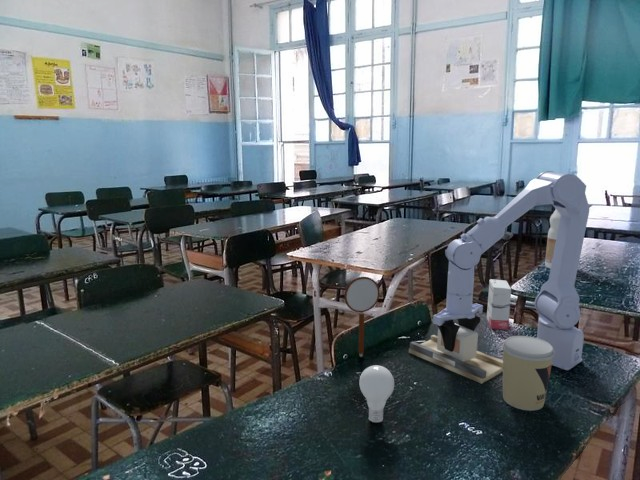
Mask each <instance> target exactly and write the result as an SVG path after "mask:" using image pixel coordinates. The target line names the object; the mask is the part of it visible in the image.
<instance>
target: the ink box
mask: <svg viewBox="0 0 640 480" xmlns="http://www.w3.org/2000/svg"><path fill="white" fill-rule="evenodd" d="M511 298H512V287H511V286H510V285H509V283H508V281H507V280H503V279H494V278H493V279H492V278H491V279H489V284H488V296H487V308H486V309H487V310H486V320H487V322H488V324H489V327H490V329H495V330H509V326H510V325H509V324H510V314H511V313H510V312H511Z"/></svg>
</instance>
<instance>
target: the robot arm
mask: <svg viewBox="0 0 640 480" xmlns="http://www.w3.org/2000/svg"><path fill="white" fill-rule="evenodd" d="M586 190H587V184H585V182H584V181H582V179H580V178H579V177H578V175H576V174H573V173H561V172H555V171H553V170H552V171H551V170H546V171H543V172H541V173H539V174H538V175H537V177H536V178H533V179H532V180H530V181H529V182H528V184H527V185H526V186H525V187H524V188H523V189H522V191H520V192H519V193H518V194H517V195H516V196H515V197H514V198H513V199H512V200H511V201H509V203H507V204H506V205H505V206H504V207H503V208H502V209H501V210H500V211H498V213H497V214H495V215H494V216H485V217H484V218H482V217H479V219H478V220H476V223H477V224H476V225H474V226H473V227H472V228H471V229H469V230H468V231H467V232H466V233H462V234H461V235H460V238H458V239H457V238H456V239H454V240H452V241H451V242H450V243H449V244H448V245H447V248H446V249H445V250H444V251H445V252H444V253H445V257H446V258H447V260H448V268H447V269H448V271H447V282H446V283H447V286H446V301H445V302H446V303H445V305H446V306H445V308H443V309H442V310H441V311H439V312H438V313H436V314H433V316H432V324H434V325H436V326H437V329H438V328H439V330H440V332H441V335H442V338H443V342H444V347H445V349H446V350H448V351H450V352H452V351H453V350H454V346H455V339H456V335H457V332H458V330H459V328H460V326H463V327H465V328H468V329H470V330H472V331H475V330H476V328H477V326H478V325H479V324H480V323H481V317H479V316H478V315H476V314H479V315H481V314H483V310H484V308H483V307H484V305H483V304H479V303H477V302H476V303H473V300H474V299H473V298H474V297H473V296H474V282H475V266H477V265H478V264H479V263H480V260H481V256H482V255H483V254H484V253H485V252H486V251H488V250H489V248H491V247H492V246H494V245H495V244H496V243H497V242H498V241H500V240H501V239H502V238H503V237H504V236H505V232H506V228H508V226H510V225H511V224H512V223H514V222H515V221H516V220H518V219H519V218H520V217H522V216H523V215H524V214H526V213H527V212H529V211H530V210H531V209H532V208H534V207H536V206H547V205H552V206H553V207H554V209H556V210H557V211H558V212H559V213H560V214H561V217H560V222H559V227H558V233H557V238H556V243H555V248H554V254H553V259H552V264H551V269H550V268H549V269H550V270H549V275H548V280H547V281H545V282H544V283H543V284H541V286H540V287H541V288H540V291H539V293H538V295H536V297H535V299H534V308H535V309H536V311H537V312H538V322H537V323H538V324H537V331H536V332H537V334H536V338H538V339H541V340H544V341H546V342H548V343H549V344H550V345H551V346H552V347H553V350H554V357H553V360H552V366H553V367H556V368H558V369H561V370H565V371H570V370H571V369H572V368H574V367H576V366H577V365H578V364H580V363H581V362H583V358H582V356H583V348H584V339H585V336H584V331H583V330H582V329H579V328H577V327H576V326H575V325H577V324H578V322H579V320H580V318H581V312H582V311H581V309H580V298H581V297H580V296H579V293H578V291H577V290H576V287H575V283H576V279H577V274H578V269H579V264H580V260H581V258H580V257H581V254H582V249H583V244H584V239H585V234H586V229H587V225H588V220H589V215H590V214H589V213H590V205H589V203H588V199H587V195H586ZM456 320H457V323H458V325H460V326H458V325H456V324H457V323H456V324H454V323H455V322H454V321H456Z"/></svg>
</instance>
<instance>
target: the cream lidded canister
mask: <svg viewBox="0 0 640 480" xmlns="http://www.w3.org/2000/svg"><path fill="white" fill-rule="evenodd" d="M502 351H503V352H502V360H503V372H502V398H503V400H504V402H505V403H506V404H507V405H508V406H510V407H513V408H516V409H518V410H522V411H531V412H532V411H538V410H541V409H542V408H543V407H544V405H545V401H546V399H547V398H546V397H547V392H548V387H549V381H550V375H551V371H552V370H551V369H552V366H553V365H552V360H553V357H554V350H553V347H552V346H551V345H550V344H549V343H548V342H546V341H544V340H541V339H538V338H537V337H535V336H534V337H533V336H528V335H512V336H509V337H507V338H506V339H504V341H503V342H502Z"/></svg>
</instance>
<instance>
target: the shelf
mask: <svg viewBox="0 0 640 480" xmlns="http://www.w3.org/2000/svg"><path fill="white" fill-rule="evenodd" d="M437 339H438V335H436V334H432V335H430V339H429V340H426V341H423V342H422V343H418V342H416V341H411V342H409V348H408V353H409V354H411V355H414V356H416V357H418V358H421V359H423V360H424V361H428V362H429V363H432V364H435V365H437V366H439V367H441V368H444V369H446V370H449V371H451V372H453V373H456V374H458V375H459V376H460V375H461V376H462V377H465V378H467V379H470V380H473V381H475V382H477V383H479V384H484V383H485V382H487V381H489V380H491V379H492V378H494V377H497V376H498V375H499V374H501V373H503V359H501V358H497V357H495V356H492V355H489V354H486V353H484V352H481V351H479V350H477V356H476V358H473V359H470V360H467V361H465V362H463V361H461V360H458V359H456V358H454V357H452V356H450V355H448V354H446V353H444V352H442V351H440V350H437Z"/></svg>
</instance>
